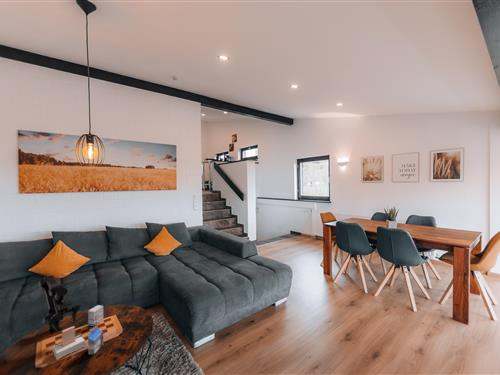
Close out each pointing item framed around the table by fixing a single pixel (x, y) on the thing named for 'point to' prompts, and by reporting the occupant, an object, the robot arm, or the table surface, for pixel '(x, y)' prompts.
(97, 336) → the label tape cartridge
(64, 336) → the pink rectangular block
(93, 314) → the ink box
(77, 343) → the dispenser
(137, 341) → the table surface
